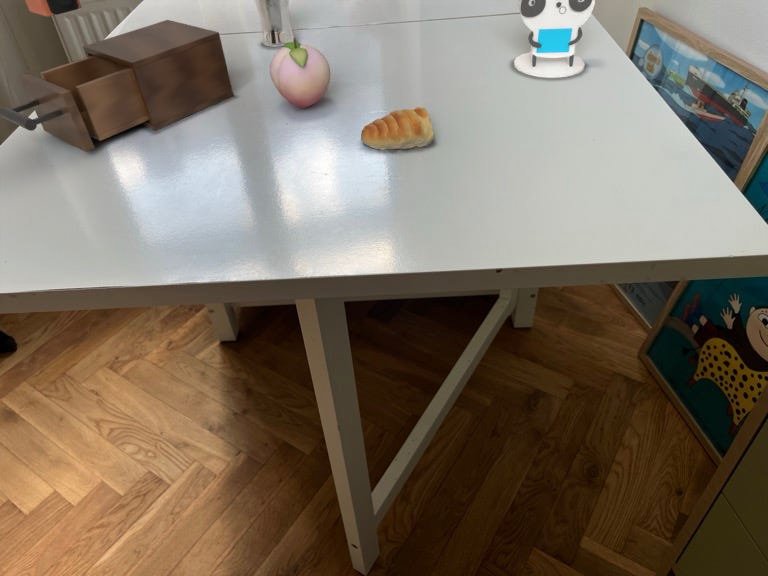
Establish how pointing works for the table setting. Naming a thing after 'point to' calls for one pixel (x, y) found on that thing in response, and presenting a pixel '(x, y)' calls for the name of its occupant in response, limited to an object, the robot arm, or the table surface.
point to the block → (41, 7)
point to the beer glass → (275, 22)
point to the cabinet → (171, 68)
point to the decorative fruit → (300, 73)
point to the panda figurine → (553, 36)
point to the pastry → (399, 130)
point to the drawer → (81, 101)
